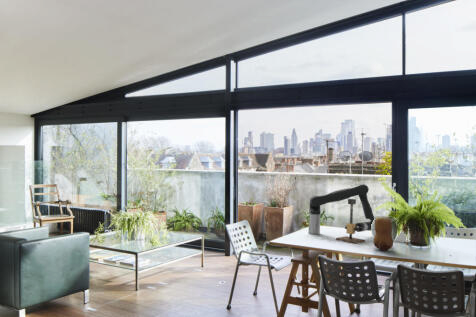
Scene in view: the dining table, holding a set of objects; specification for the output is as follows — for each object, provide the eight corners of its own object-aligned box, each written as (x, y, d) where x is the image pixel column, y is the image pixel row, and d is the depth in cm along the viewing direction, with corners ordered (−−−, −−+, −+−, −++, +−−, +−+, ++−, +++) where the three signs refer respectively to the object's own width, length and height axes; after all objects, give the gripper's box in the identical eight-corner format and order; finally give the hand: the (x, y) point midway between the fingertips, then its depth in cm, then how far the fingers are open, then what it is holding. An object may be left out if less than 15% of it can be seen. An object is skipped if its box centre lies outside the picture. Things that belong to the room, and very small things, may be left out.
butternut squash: (384, 247, 320) (385, 215, 320) (396, 251, 307) (397, 217, 307) (369, 248, 315) (370, 215, 315) (381, 252, 302) (382, 218, 302)
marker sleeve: (346, 233, 344) (346, 223, 344) (349, 232, 347) (350, 222, 347) (351, 234, 340) (352, 224, 340) (355, 233, 343) (355, 223, 343)
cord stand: (336, 239, 346) (337, 198, 346) (346, 238, 355) (347, 197, 355) (355, 243, 332) (356, 200, 332) (365, 241, 341) (366, 199, 341)
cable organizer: (413, 241, 348) (414, 227, 348) (411, 243, 339) (411, 229, 339) (395, 239, 356) (395, 225, 356) (392, 241, 347) (392, 227, 347)
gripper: (353, 221, 359) (342, 222, 348) (368, 223, 348) (357, 225, 337) (353, 230, 359) (342, 231, 348) (368, 232, 348) (357, 234, 337)
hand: (349, 228), depth 343 cm, fingers open, 8 cm apart
